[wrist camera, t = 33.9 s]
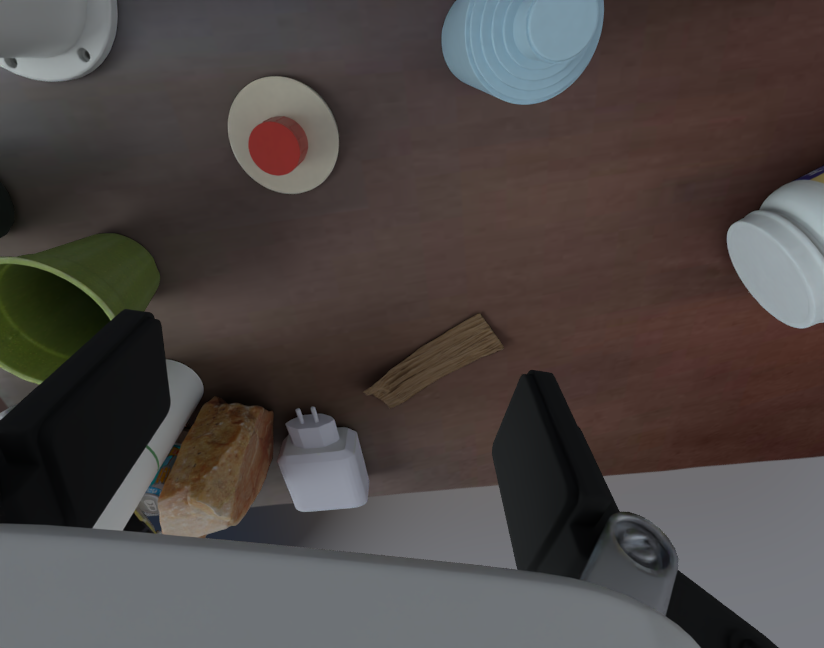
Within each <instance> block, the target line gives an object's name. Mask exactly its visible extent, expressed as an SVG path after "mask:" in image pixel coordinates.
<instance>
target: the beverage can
mask: <svg viewBox="0 0 824 648" xmlns="http://www.w3.org/2000/svg"><path fill="white" fill-rule="evenodd" d="M189 430H190V429H187V428H183V430H182V432H181V434H180V435H179V437H178V439H177V440H176V442H175V444H174V445H173V447H172V449H171V450H170V452H169V454H168V455H167V457H166V459H165V460H164V462H163V464H162V465H161V467H160V469H159V470H158V472H157V474H156V475H155V477H154V479H153V481H152V482H151V484H150V486H149V487H148V489H147V491H146V492H145V494H144V496H143V497H142V499H141V501H140V502H139V504H138V507H139V508H140V509H141V511H143V512H146V513H151V514H156V513H159V509H158V499H159V496H160V494H161V491H162V489H163V487H164V484H165V482H166V480H167V478H168V476H169V474H170V472H171V469H172V467H173V465H174V463H175V460H176V458H177V454H178V452H179V450H180V447H181V444H182V442H183V441H184V439H185V437H186V436H187V434H188V432H189Z"/></svg>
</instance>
